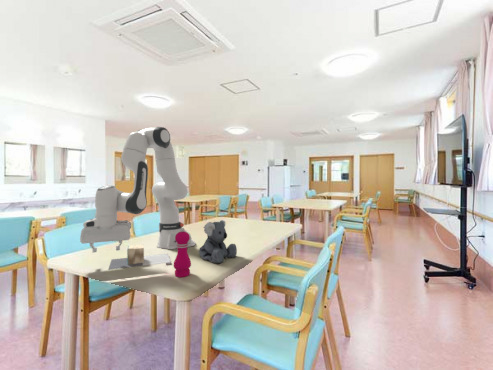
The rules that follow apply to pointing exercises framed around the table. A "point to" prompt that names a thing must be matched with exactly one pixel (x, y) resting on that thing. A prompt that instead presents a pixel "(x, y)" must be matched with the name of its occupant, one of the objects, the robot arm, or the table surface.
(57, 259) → the table surface
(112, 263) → the mat
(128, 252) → the beech block
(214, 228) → the koala plush
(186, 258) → the pepper mill
